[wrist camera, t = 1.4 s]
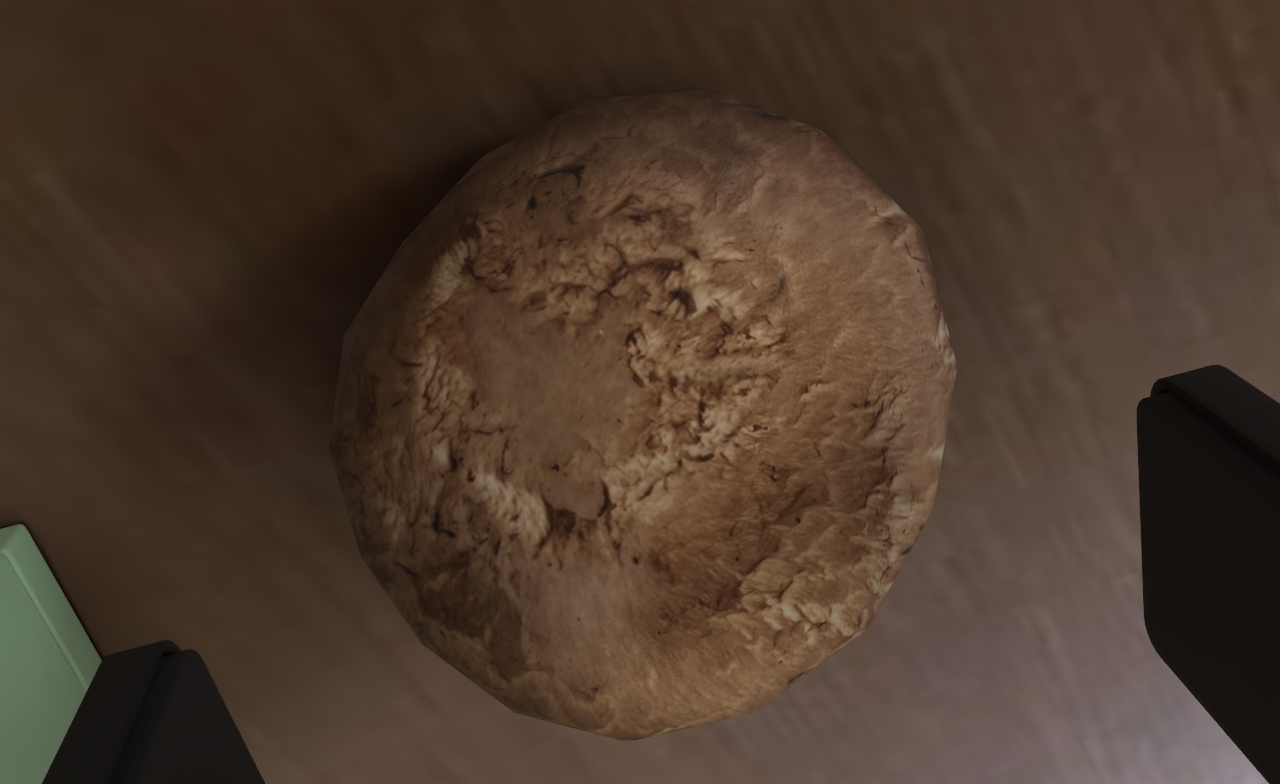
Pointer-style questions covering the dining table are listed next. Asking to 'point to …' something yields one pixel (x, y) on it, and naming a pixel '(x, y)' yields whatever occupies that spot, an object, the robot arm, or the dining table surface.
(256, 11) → the dining table surface
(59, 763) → the robot arm
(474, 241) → the mushroom
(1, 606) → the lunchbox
